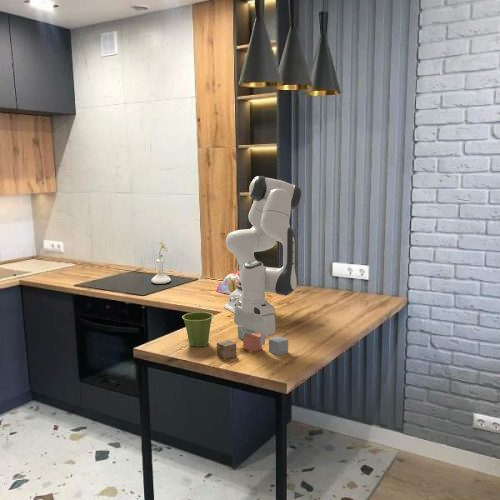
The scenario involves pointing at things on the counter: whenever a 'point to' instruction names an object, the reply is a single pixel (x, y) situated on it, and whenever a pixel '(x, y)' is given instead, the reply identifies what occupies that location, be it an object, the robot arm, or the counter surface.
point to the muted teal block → (240, 334)
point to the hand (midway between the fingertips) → (253, 341)
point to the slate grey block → (278, 345)
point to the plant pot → (198, 327)
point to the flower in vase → (161, 270)
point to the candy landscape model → (229, 283)
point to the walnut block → (226, 349)
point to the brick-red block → (252, 342)
